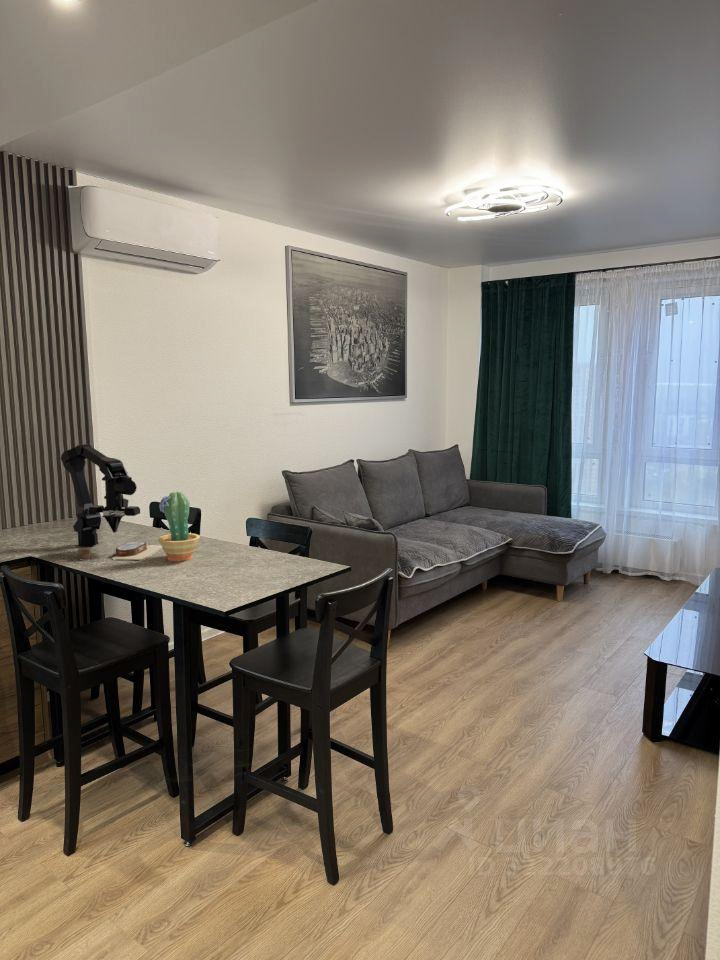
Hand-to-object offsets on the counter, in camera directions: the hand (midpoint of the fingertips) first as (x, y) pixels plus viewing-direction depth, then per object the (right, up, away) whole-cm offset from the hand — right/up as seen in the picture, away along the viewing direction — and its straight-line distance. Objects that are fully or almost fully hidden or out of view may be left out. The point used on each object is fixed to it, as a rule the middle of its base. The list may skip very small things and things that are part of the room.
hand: (114, 532), depth 256 cm
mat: (+10, -8, -2) cm, 13 cm away
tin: (+3, -6, -2) cm, 7 cm away
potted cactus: (+28, -9, -9) cm, 31 cm away
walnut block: (-7, -9, -11) cm, 16 cm away
